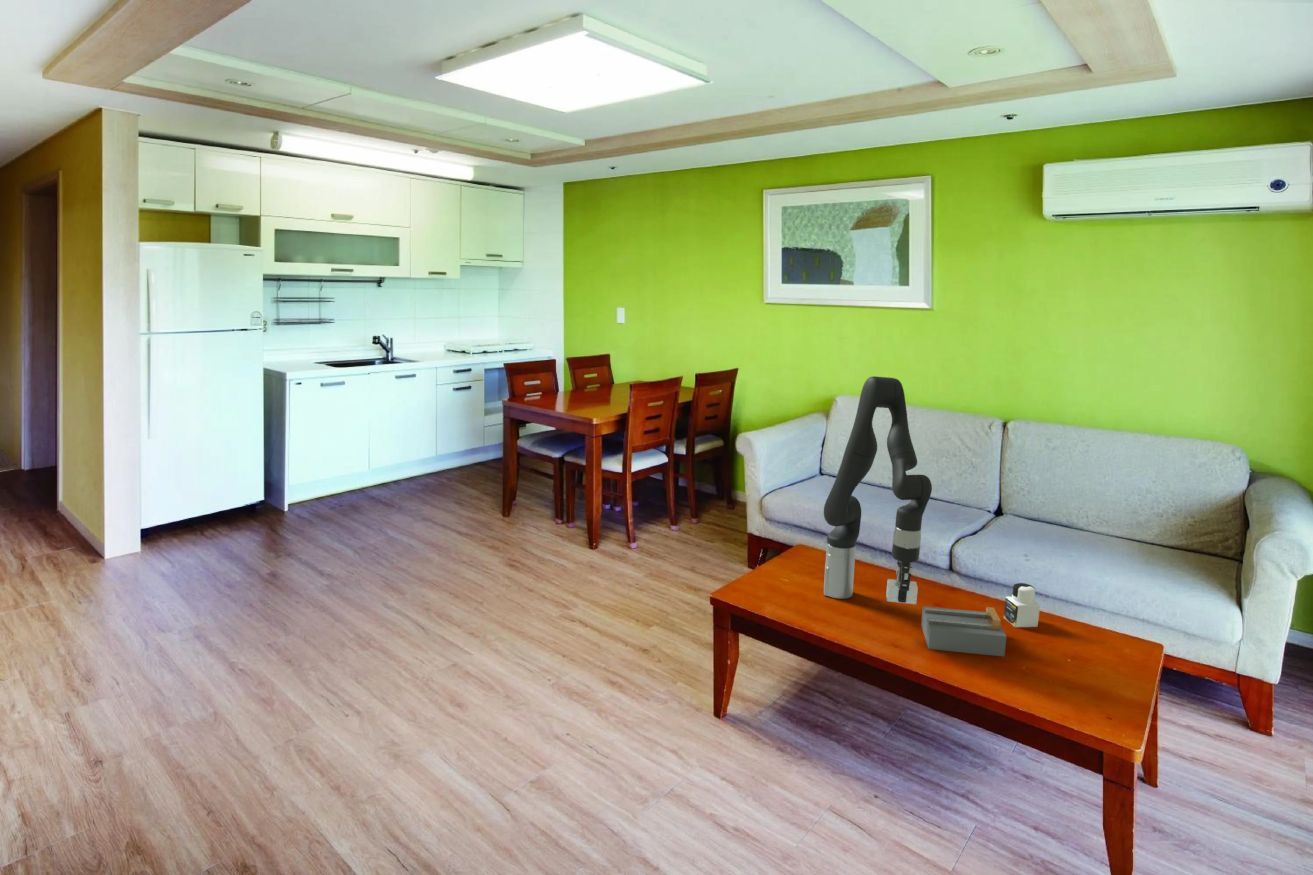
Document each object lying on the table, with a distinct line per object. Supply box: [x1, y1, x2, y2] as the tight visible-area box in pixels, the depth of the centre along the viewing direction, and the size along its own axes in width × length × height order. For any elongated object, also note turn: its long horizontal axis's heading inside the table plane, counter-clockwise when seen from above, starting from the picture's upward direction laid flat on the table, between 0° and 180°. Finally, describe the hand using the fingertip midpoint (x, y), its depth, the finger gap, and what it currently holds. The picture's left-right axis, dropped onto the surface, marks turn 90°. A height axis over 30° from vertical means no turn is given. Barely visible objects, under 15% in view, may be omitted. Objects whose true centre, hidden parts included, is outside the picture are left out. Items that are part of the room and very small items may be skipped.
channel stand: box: [920, 606, 1007, 657], centre depth 222 cm, size 20×16×9 cm
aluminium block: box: [885, 578, 919, 605], centre depth 224 cm, size 8×5×5 cm, turn 78°
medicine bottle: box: [1003, 582, 1041, 628], centre depth 234 cm, size 7×7×12 cm
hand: (901, 597), depth 224 cm, fingers closed on aluminium block, 4 cm apart
